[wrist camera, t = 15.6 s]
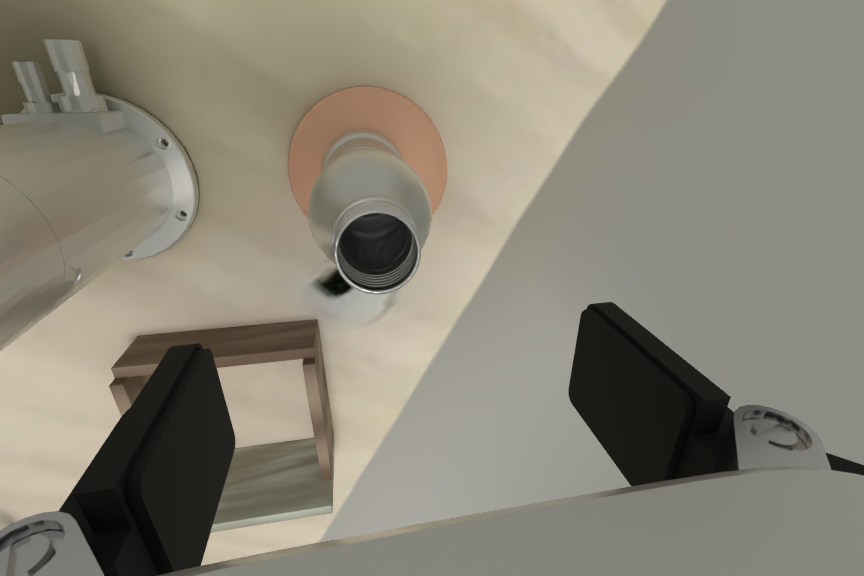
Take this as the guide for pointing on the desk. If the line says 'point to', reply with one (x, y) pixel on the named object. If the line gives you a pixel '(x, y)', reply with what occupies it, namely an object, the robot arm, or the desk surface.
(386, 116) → the terracotta saucer
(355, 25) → the desk surface
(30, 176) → the robot arm
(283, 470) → the wooden drawer
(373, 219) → the silver metal bottle
